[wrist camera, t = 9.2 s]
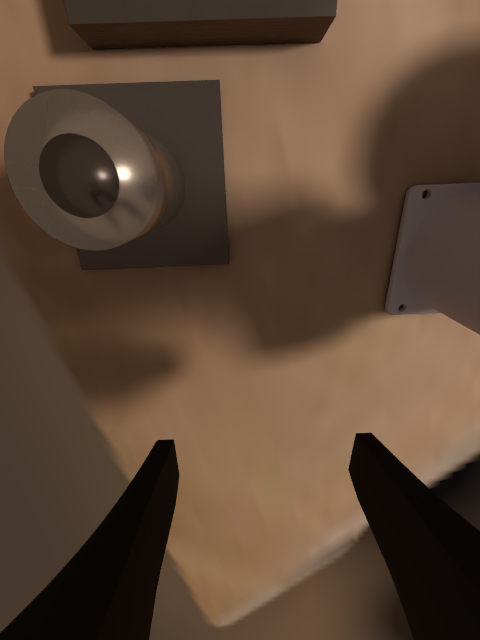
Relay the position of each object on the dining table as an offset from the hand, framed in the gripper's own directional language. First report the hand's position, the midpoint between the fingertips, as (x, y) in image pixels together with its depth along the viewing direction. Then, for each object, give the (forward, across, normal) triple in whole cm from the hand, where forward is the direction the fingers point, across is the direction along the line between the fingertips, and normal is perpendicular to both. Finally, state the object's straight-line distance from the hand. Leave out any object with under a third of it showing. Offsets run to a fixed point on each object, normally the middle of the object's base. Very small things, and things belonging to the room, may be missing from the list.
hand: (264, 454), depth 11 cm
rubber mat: (+10, +6, -10) cm, 15 cm away
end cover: (+9, +6, -10) cm, 15 cm away
